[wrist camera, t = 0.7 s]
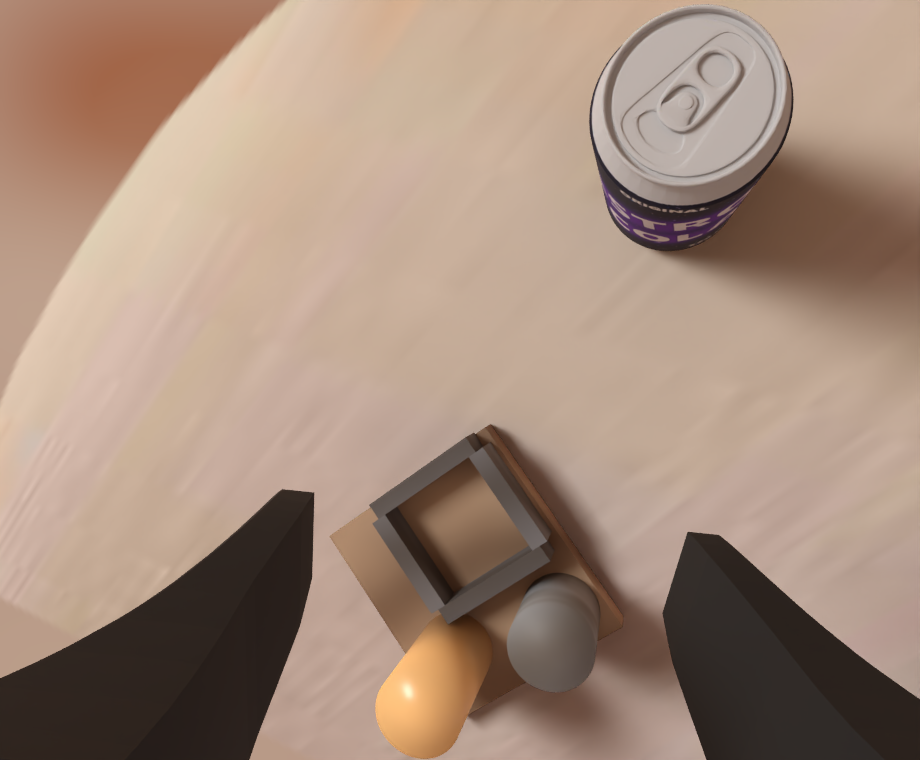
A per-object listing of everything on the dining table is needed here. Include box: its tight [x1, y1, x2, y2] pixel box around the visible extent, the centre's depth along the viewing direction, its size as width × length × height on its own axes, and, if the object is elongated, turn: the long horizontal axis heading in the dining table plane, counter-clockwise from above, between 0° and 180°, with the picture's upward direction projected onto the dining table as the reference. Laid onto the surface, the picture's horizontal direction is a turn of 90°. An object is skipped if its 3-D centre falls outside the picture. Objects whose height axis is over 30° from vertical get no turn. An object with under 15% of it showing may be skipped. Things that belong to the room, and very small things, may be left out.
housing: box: [330, 424, 623, 715], centre depth 31 cm, size 11×10×5 cm
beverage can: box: [589, 4, 793, 251], centre depth 24 cm, size 6×6×12 cm
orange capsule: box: [375, 614, 493, 759], centre depth 30 cm, size 4×4×6 cm
